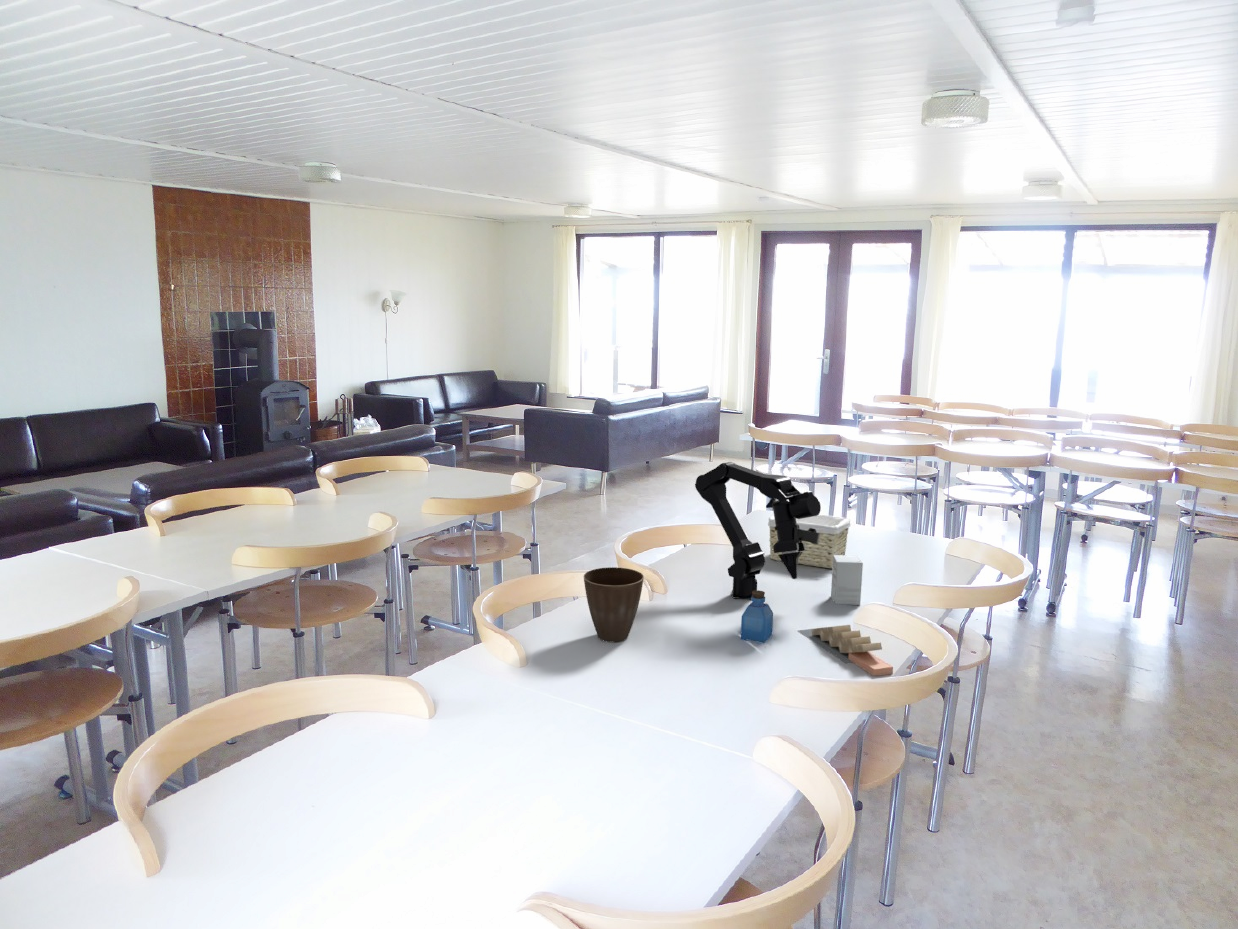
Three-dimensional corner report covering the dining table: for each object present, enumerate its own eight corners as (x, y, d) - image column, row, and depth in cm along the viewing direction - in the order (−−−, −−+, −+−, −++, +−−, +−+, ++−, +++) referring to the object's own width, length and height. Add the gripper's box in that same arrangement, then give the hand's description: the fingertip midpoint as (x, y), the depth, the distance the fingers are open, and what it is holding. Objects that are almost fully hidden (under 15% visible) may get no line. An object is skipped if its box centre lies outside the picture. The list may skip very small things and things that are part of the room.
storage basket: (764, 559, 284) (766, 517, 282) (782, 549, 298) (784, 508, 295) (834, 571, 272) (837, 527, 269) (849, 560, 285) (852, 517, 283)
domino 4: (838, 646, 204) (862, 644, 195) (856, 644, 205) (880, 642, 196) (839, 653, 203) (863, 651, 194) (857, 651, 205) (882, 649, 196)
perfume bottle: (740, 639, 212) (742, 593, 210) (748, 631, 218) (750, 587, 216) (764, 644, 210) (766, 597, 207) (772, 636, 215) (774, 591, 213)
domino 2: (820, 634, 212) (841, 632, 202) (837, 632, 213) (859, 630, 204) (821, 641, 211) (843, 639, 202) (838, 639, 213) (860, 637, 204)
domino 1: (811, 629, 215) (832, 626, 206) (828, 627, 217) (850, 624, 208) (812, 635, 215) (833, 633, 206) (829, 633, 216) (851, 631, 207)
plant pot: (636, 651, 204) (637, 587, 201) (576, 645, 207) (577, 582, 204) (646, 629, 218) (648, 569, 215) (590, 624, 221) (591, 565, 218)
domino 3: (829, 640, 208) (851, 638, 199) (846, 638, 209) (869, 636, 200) (830, 647, 207) (852, 645, 198) (847, 644, 209) (871, 643, 200)
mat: (797, 631, 218) (797, 630, 218) (827, 628, 221) (827, 627, 221) (845, 664, 198) (846, 663, 198) (878, 660, 201) (878, 659, 201)
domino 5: (848, 652, 200) (874, 669, 191) (866, 650, 202) (893, 666, 192) (848, 659, 200) (873, 676, 191) (866, 656, 202) (892, 673, 192)
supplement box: (855, 597, 246) (858, 555, 244) (860, 605, 239) (863, 562, 237) (830, 596, 247) (832, 554, 245) (833, 604, 240) (836, 561, 238)
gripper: (811, 515, 221) (821, 575, 218) (818, 518, 238) (828, 574, 236) (768, 522, 224) (778, 581, 222) (779, 524, 242) (788, 579, 239)
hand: (794, 578), depth 229 cm, fingers closed
